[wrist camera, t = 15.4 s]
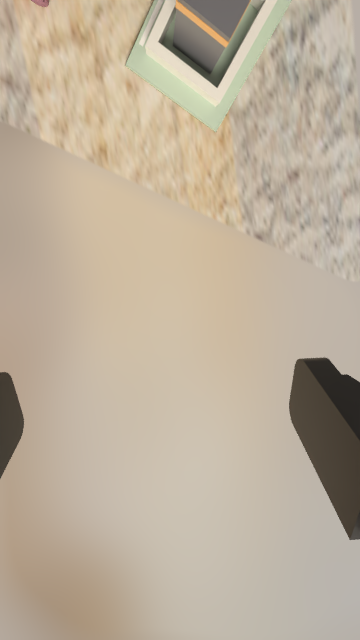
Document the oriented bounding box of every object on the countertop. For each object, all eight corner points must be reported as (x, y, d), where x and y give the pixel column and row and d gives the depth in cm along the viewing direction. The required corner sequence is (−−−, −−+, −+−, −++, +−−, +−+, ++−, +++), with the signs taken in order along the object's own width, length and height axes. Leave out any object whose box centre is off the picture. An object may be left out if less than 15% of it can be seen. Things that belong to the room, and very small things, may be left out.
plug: (172, 45, 29) (176, -5, 20) (202, -20, 28) (222, -107, 19) (210, 75, 30) (230, 40, 21) (242, 13, 29) (279, -53, 20)
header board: (125, 66, 30) (122, 57, 28) (196, -92, 26) (200, -121, 23) (215, 132, 33) (219, 129, 30) (292, -2, 29) (305, -19, 26)
